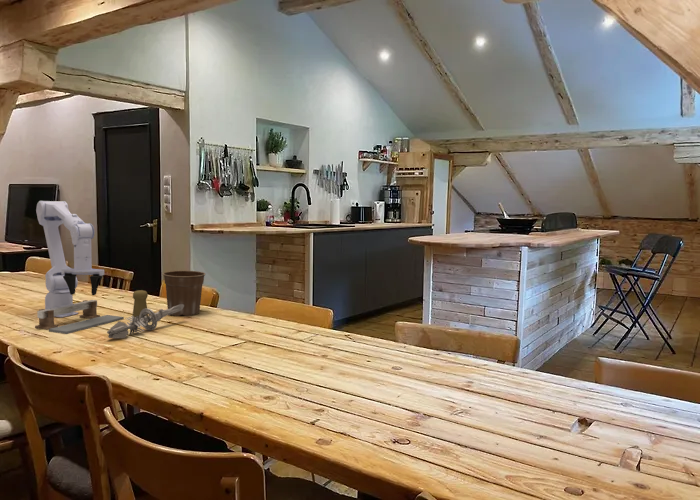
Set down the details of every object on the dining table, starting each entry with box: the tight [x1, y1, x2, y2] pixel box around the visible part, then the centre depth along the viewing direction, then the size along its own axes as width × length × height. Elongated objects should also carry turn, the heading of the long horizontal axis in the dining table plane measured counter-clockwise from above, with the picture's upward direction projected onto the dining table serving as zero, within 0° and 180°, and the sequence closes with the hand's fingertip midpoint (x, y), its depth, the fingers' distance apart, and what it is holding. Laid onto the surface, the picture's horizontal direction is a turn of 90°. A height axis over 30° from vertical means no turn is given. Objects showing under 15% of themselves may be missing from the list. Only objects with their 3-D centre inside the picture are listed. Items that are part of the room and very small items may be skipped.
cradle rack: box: [34, 300, 101, 331], centre depth 203 cm, size 6×23×6 cm, turn 159°
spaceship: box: [106, 304, 184, 339], centre depth 194 cm, size 8×35×8 cm
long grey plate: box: [48, 314, 125, 335], centre depth 200 cm, size 8×26×1 cm, turn 159°
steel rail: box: [36, 299, 98, 319], centre depth 203 cm, size 2×24×2 cm, turn 159°
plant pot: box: [162, 270, 206, 317], centre depth 223 cm, size 16×16×16 cm
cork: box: [131, 289, 149, 318], centre depth 210 cm, size 6×6×11 cm
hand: (83, 294), depth 203 cm, fingers open, 7 cm apart
